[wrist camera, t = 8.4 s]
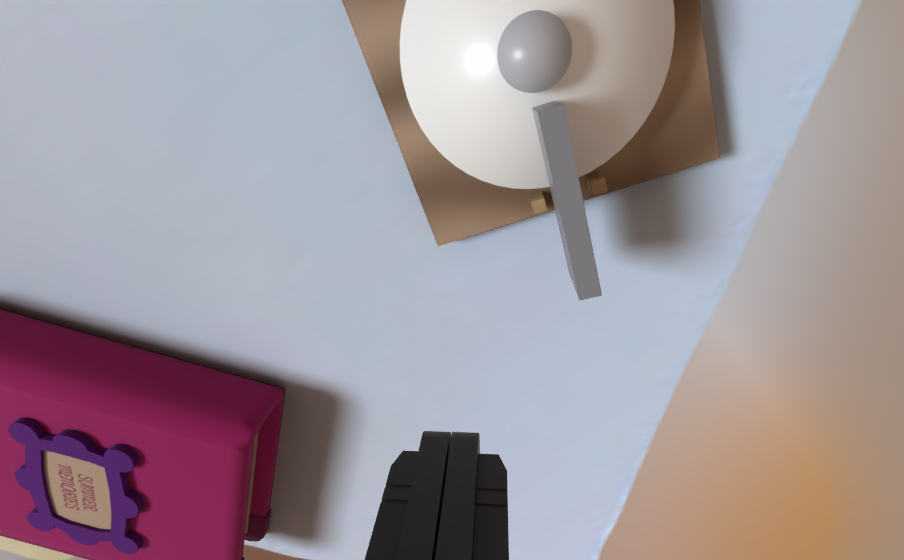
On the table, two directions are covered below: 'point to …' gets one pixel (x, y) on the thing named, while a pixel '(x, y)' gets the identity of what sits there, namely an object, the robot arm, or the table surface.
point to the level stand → (490, 206)
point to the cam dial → (536, 93)
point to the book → (129, 449)
